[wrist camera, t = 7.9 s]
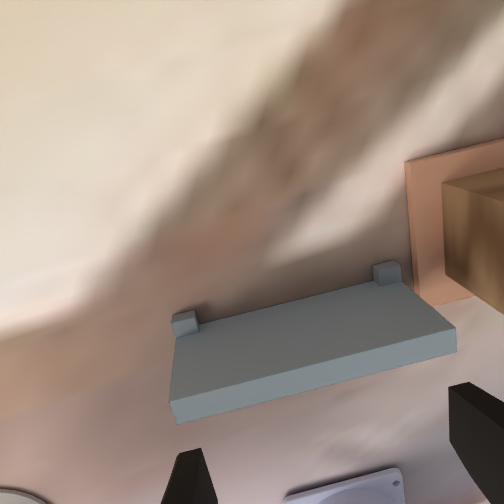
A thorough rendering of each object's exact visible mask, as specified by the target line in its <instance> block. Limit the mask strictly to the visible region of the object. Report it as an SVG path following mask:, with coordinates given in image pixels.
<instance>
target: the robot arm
mask: <svg viewBox="0 0 504 504" xmlns="http://www.w3.org/2000/svg"><path fill="white" fill-rule="evenodd" d="M448 391H449V436H450V442H451V444H452V446H453V448H454V449H455V451H456V453H457V454H458V456H459V458H460V460H461V461H462V463H463V465H464V466H465V468H466V469H467V471H468V473H469V474H470V476H471V478H472V479H473V480H474V482H475V483H476V484H477V486H478V487H479V488H480V490H481V491H482V492H483V494H484V495H485V496H486V498H487V499H488V500H489V502H490V503H491V504H504V402H502V401H501V400H499V399H497V398H495V397H494V396H492V395H490V394H489V393H487V392H485V391H484V390H482V389H480V388H479V387H477V386H475V385H473V384H472V383H470V382H467V383H462V384H458V385H454V386H450V387H448ZM161 504H218V499H217V496H216V493H215V490H214V487H213V484H212V480H211V477H210V474H209V471H208V468H207V465H206V462H205V459H204V455H203V452H202V449H201V448H198V449H194V450H190V451H186V452H182V453H179V455H178V456H177V458H176V461H175V464H174V467H173V470H172V473H171V476H170V479H169V482H168V485H167V488H166V491H165V493H164V496H163V499H162V501H161ZM282 504H406V503H405V494H404V485H403V476H402V473H401V471H400V470H399V469H398V468H390V469H386V470H383V471H379V472H375V473H371V474H368V475H364V476H360V477H357V478H353V479H349V480H345V481H342V482H338V483H334V484H331V485H327V486H323V487H319V488H316V489H312V490H308V491H305V492H301V493H297V494H293V495H290V496H287V497H285V498H284V499H283V501H282Z"/></svg>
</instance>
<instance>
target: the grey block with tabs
mask: <svg viewBox="0 0 504 504" xmlns="http://www.w3.org/2000/svg"><path fill="white" fill-rule="evenodd" d="M372 271H373V279H374V281H370V282H366V283H362V284H358V285H354V286H350V287H346V288H342V289H338V290H334V291H330V292H326V293H322V294H318V295H314V296H311V297H307V298H303V299H299V300H295V301H291V302H287V303H283V304H279V305H275V306H271V307H267V308H263V309H259V310H255V311H251V312H247V313H243V314H239V315H235V316H231V317H227V318H223V319H219V320H215V321H211V322H207V323H203V324H199V322H198V319H197V316H196V312H195V310H192V311H188V312H184V313H180V314H176V315H172V320H171V325H172V328H173V331H174V334H175V337H176V343H175V352H174V360H173V369H172V377H171V386H170V395H169V404H170V407H171V410H172V412H173V415H174V418H175V421H176V423H177V425H178V424H182V423H186V422H190V421H194V420H197V419H201V418H205V417H209V416H213V415H217V414H220V413H224V412H228V411H232V410H236V409H240V408H244V407H247V406H251V405H255V404H259V403H263V402H267V401H271V400H274V399H278V398H282V397H286V396H290V395H294V394H297V393H301V392H305V391H309V390H313V389H317V388H321V387H324V386H328V385H332V384H336V383H340V382H344V381H347V380H351V379H355V378H359V377H363V376H367V375H371V374H374V373H378V372H382V371H386V370H390V369H394V368H397V367H401V366H405V365H409V364H413V363H417V362H421V361H424V360H428V359H432V358H436V357H440V356H444V355H448V354H451V353H455V352H457V342H456V327H454V326H453V325H452V324H451V323H450V322H449V321H447V320H446V319H445V318H444V317H443V316H442V315H440V314H439V313H438V312H437V311H436V310H435V309H434V308H432V307H431V306H430V305H429V304H428V303H427V302H425V301H424V300H423V299H422V298H421V297H420V296H419V295H417V294H416V293H415V292H414V291H413V290H412V289H410V288H409V287H408V286H407V285H406V284H405V283H403V282H402V275H401V266H400V265H399V264H398V263H397V262H395V261H394V260H392V261H388V262H384V263H380V264H376V265H372Z"/></svg>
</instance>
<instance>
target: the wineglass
mask: <svg viewBox="0 0 504 504" xmlns="http://www.w3.org/2000/svg"><path fill="white" fill-rule="evenodd" d="M0 504H46V503H45V502H44V501H43V500H40V499H38V498H36V497H34V496H32V495H30V494H27V493H23V492H20V491H16V490H8V489H0Z"/></svg>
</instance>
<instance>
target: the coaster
mask: <svg viewBox="0 0 504 504" xmlns="http://www.w3.org/2000/svg"><path fill="white" fill-rule="evenodd" d="M503 167H504V138H503V139H498V140H494V141H490V142H486V143H482V144H478V145H474V146H469V147H465V148H461V149H457V150H453V151H449V152H445V153H440V154H436V155H432V156H428V157H424V158H420V159H416V160H411V161H407V162H405V175H406V188H407V201H408V214H409V227H410V240H411V253H412V266H413V279H414V292H415V293H416V294H417V295H419V296H420V297H421V298H422V299H423V300H424V301H425V302H427V303H428V304H429V305H430V306H431V307H433V306H437V305H441V304H445V303H449V302H452V301H456V300H460V299H464V298H468V297H472V296H476V295H474V294H473V293H471V292H470V291H468V290H467V289H466V288H464V287H463V286H461V285H460V284H458V283H457V282H455V281H454V280H452V279H451V278H449V277H448V276H446V275H445V258H444V236H443V213H442V190H441V183H442V182H446V181H450V180H454V179H458V178H462V177H467V176H471V175H475V174H479V173H483V172H487V171H491V170H495V169H499V168H503Z"/></svg>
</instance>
